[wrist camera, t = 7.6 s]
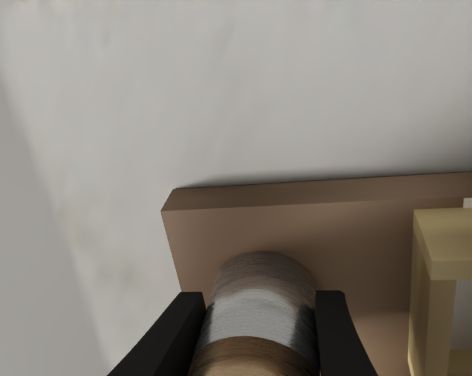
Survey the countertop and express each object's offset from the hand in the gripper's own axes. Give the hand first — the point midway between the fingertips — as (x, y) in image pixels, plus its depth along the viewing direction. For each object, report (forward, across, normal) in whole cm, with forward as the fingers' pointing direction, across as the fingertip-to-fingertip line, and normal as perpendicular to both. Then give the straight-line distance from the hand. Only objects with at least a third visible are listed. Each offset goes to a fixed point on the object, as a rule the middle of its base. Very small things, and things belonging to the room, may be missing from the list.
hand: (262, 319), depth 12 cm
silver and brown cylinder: (+1, 0, 0) cm, 1 cm away
